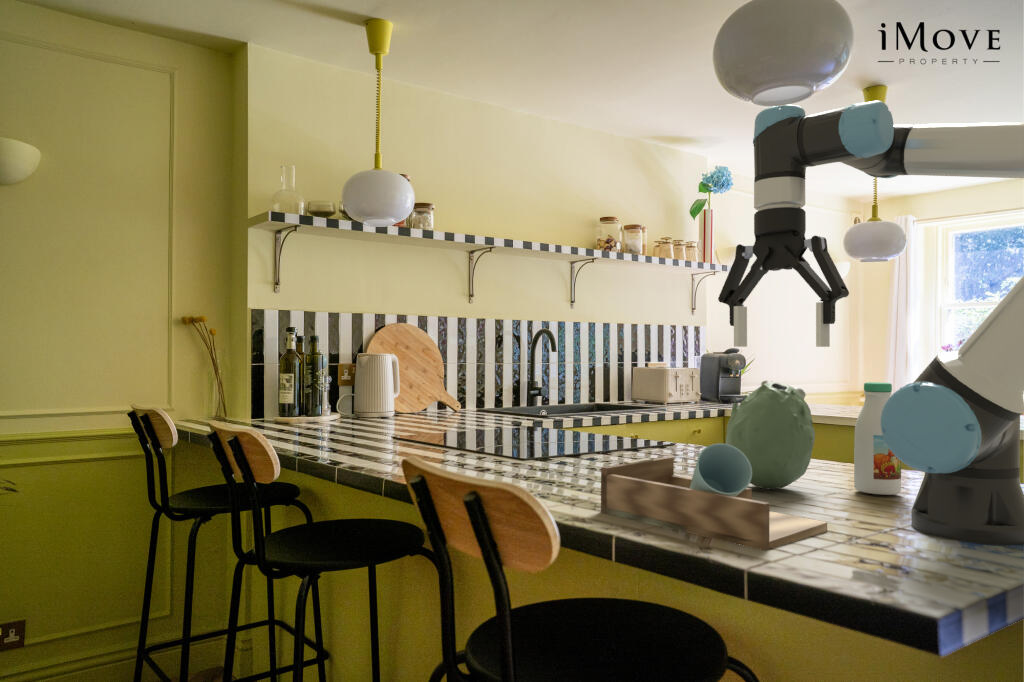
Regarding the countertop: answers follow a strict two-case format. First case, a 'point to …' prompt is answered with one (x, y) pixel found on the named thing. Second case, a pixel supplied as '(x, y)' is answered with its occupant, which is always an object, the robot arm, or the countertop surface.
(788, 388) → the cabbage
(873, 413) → the milk bottle
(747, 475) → the cup
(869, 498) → the countertop surface
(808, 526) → the rail board
